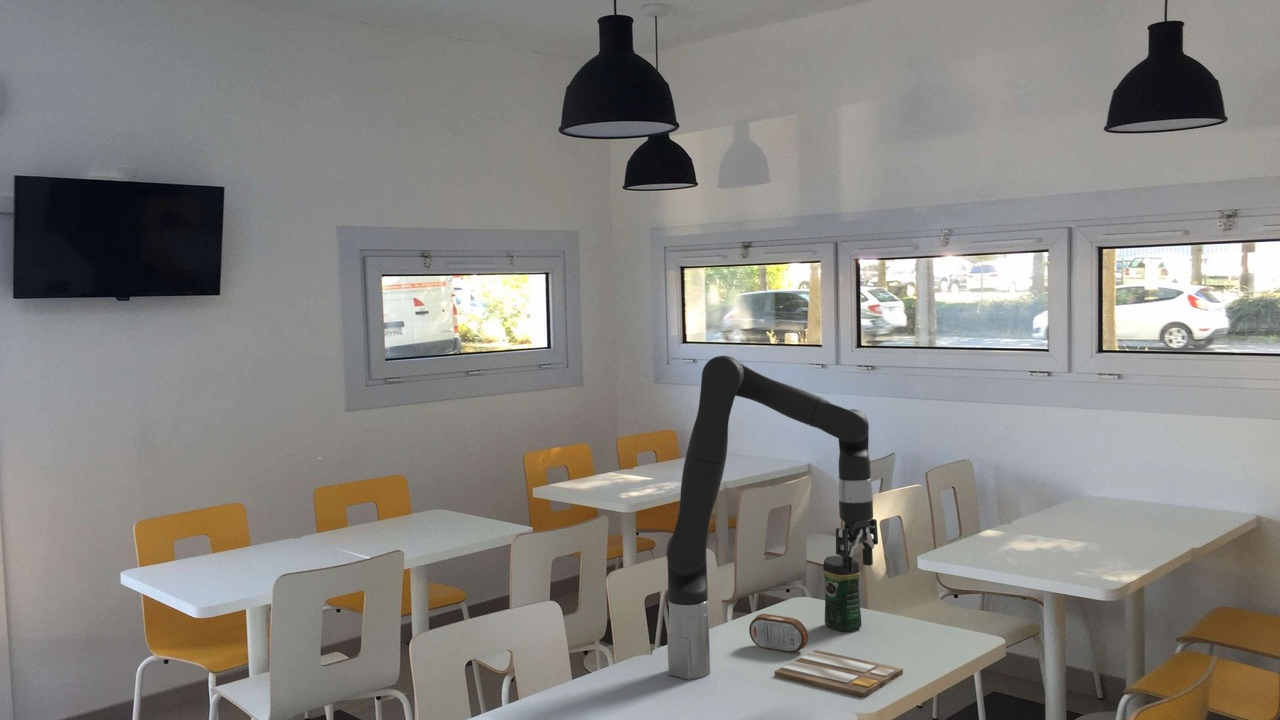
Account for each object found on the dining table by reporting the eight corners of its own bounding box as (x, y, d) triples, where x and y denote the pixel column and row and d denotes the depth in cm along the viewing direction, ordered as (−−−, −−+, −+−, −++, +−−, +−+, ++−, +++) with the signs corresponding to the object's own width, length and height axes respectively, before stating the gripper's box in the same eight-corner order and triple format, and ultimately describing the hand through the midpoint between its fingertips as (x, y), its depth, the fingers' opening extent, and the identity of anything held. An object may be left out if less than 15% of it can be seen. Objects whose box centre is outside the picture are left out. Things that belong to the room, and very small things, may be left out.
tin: (809, 652, 251) (808, 618, 251) (803, 656, 249) (802, 622, 248) (753, 644, 259) (752, 611, 259) (748, 647, 257) (746, 614, 256)
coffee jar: (867, 629, 268) (865, 558, 267) (842, 634, 264) (840, 563, 263) (843, 619, 276) (841, 551, 275) (819, 624, 273) (817, 555, 272)
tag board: (864, 698, 221) (864, 690, 221) (774, 676, 236) (774, 669, 236) (902, 673, 234) (902, 667, 234) (815, 654, 249) (815, 648, 249)
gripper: (853, 505, 224) (856, 578, 225) (886, 494, 235) (888, 564, 235) (824, 501, 229) (827, 573, 230) (857, 491, 240) (860, 560, 240)
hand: (858, 568), depth 233 cm, fingers open, 8 cm apart
